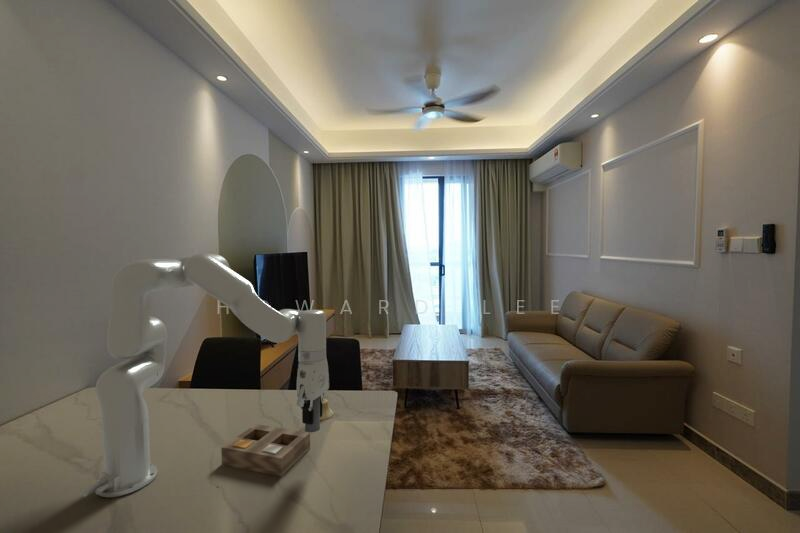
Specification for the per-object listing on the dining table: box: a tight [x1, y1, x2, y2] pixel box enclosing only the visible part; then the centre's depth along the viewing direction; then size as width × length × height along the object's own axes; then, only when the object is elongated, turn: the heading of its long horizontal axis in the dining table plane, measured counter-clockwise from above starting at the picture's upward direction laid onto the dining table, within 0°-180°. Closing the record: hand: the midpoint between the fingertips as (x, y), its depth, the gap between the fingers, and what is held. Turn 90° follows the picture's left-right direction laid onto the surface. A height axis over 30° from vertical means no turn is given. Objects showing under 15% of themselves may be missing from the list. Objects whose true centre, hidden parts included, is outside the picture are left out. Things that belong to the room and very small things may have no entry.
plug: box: [304, 396, 321, 433], centre depth 97 cm, size 4×4×9 cm
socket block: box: [220, 423, 311, 477], centre depth 103 cm, size 20×14×5 cm
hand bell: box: [320, 394, 334, 421], centre depth 129 cm, size 8×8×16 cm
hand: (312, 419), depth 97 cm, fingers closed on plug, 4 cm apart
